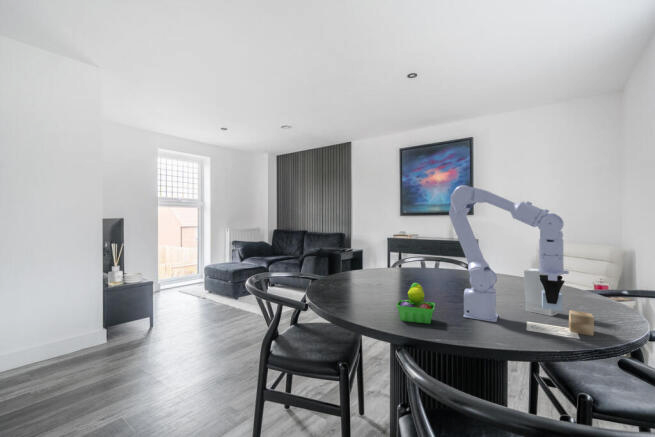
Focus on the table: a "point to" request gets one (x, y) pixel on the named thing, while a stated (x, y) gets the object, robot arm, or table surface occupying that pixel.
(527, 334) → the table surface
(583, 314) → the oak block
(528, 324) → the letter
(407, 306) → the fruit basket
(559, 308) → the blue cube
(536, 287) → the skincare box
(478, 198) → the robot arm
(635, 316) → the table surface
